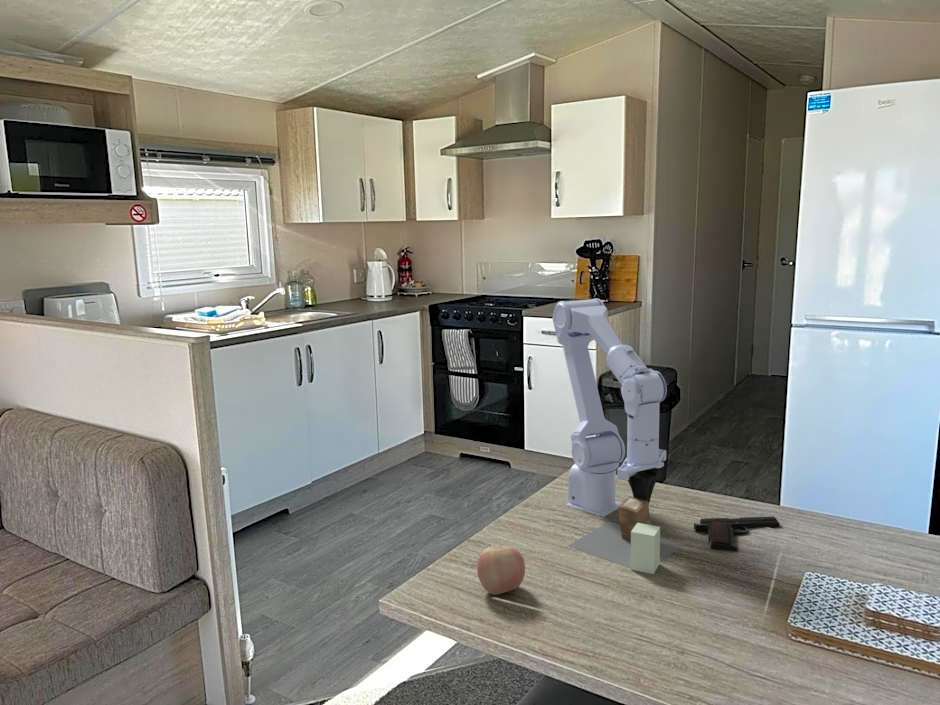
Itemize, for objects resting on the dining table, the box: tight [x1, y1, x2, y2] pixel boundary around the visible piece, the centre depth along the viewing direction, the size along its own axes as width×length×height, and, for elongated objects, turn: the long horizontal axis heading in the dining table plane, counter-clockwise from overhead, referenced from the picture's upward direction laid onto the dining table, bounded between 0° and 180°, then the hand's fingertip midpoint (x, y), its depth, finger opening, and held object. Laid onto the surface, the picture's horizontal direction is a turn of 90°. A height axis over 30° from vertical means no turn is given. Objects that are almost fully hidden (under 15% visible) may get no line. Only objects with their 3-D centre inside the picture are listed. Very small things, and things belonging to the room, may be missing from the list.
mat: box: [567, 521, 684, 574], centre depth 134 cm, size 16×14×1 cm
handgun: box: [693, 516, 781, 552], centre depth 136 cm, size 2×17×12 cm
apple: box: [476, 545, 526, 596], centre depth 119 cm, size 8×8×8 cm
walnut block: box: [617, 496, 652, 541], centre depth 135 cm, size 4×4×7 cm
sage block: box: [629, 523, 661, 575], centre depth 125 cm, size 4×4×7 cm
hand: (641, 505), depth 137 cm, fingers closed
